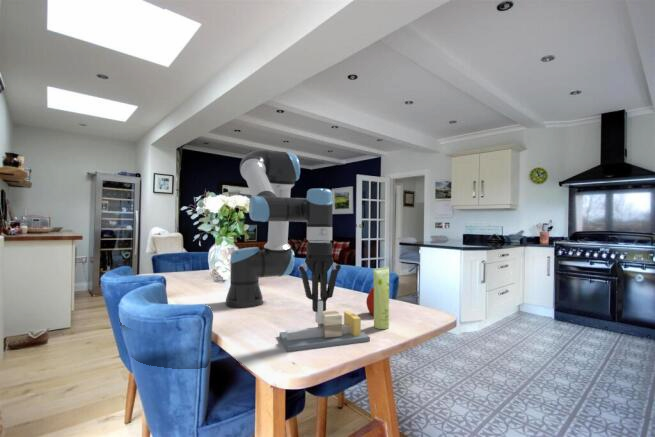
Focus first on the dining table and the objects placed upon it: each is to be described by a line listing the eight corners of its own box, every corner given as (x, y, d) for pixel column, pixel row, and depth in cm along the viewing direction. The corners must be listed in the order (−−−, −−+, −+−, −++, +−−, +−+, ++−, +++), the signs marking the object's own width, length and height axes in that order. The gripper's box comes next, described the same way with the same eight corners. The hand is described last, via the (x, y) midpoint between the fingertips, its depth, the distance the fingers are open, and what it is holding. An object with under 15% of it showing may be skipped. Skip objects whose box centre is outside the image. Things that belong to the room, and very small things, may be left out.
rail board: (279, 336, 94) (279, 315, 95) (353, 328, 102) (353, 308, 102) (287, 351, 83) (287, 328, 83) (369, 341, 91) (369, 319, 91)
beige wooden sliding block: (317, 330, 96) (318, 310, 96) (333, 328, 97) (333, 308, 97) (325, 337, 89) (325, 316, 89) (341, 336, 91) (341, 315, 91)
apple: (384, 318, 113) (384, 288, 113) (362, 315, 117) (362, 286, 117) (391, 312, 120) (391, 284, 120) (370, 310, 124) (370, 282, 124)
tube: (389, 330, 100) (389, 268, 100) (373, 329, 101) (373, 268, 101) (389, 325, 105) (388, 266, 106) (373, 324, 106) (373, 266, 107)
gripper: (300, 242, 87) (300, 328, 87) (344, 241, 91) (344, 324, 91) (294, 241, 94) (294, 320, 94) (335, 240, 98) (335, 316, 98)
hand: (319, 322), depth 92 cm, fingers closed
